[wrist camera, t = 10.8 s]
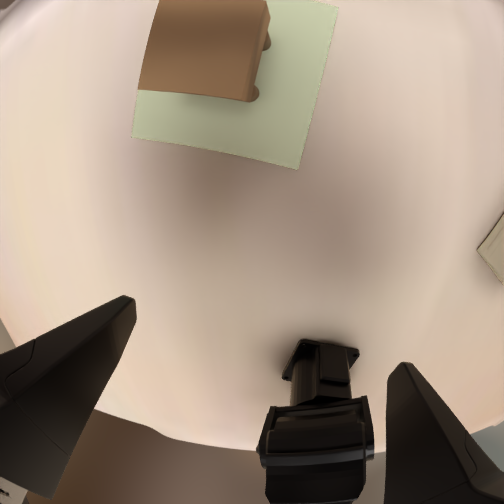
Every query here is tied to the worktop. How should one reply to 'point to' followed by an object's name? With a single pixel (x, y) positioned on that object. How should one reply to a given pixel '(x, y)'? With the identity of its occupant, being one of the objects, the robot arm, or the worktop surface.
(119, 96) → the worktop surface
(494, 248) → the supplement box
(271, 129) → the sage mat
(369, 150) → the worktop surface
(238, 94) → the toy stool
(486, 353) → the worktop surface
